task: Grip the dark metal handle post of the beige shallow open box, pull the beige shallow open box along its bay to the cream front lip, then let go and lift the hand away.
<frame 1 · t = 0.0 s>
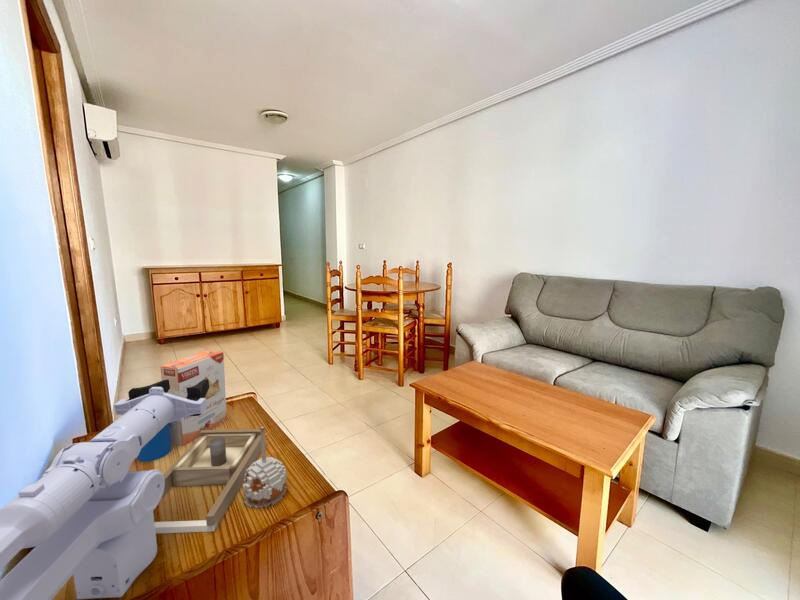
hand: (187, 383, 67), 22 cm above the sideboard, tool horizontal, fingers open, 7 cm apart
beige shallow open box: (218, 452, 74), point 4 cm above the sideboard, slide at 0.0 cm
decorative ornament: (266, 498, 66), on the sideboard
cracker box: (199, 433, 88), on the sideboard
bay: (208, 484, 69), on the sideboard
beverage can: (155, 457, 78), on the sideboard
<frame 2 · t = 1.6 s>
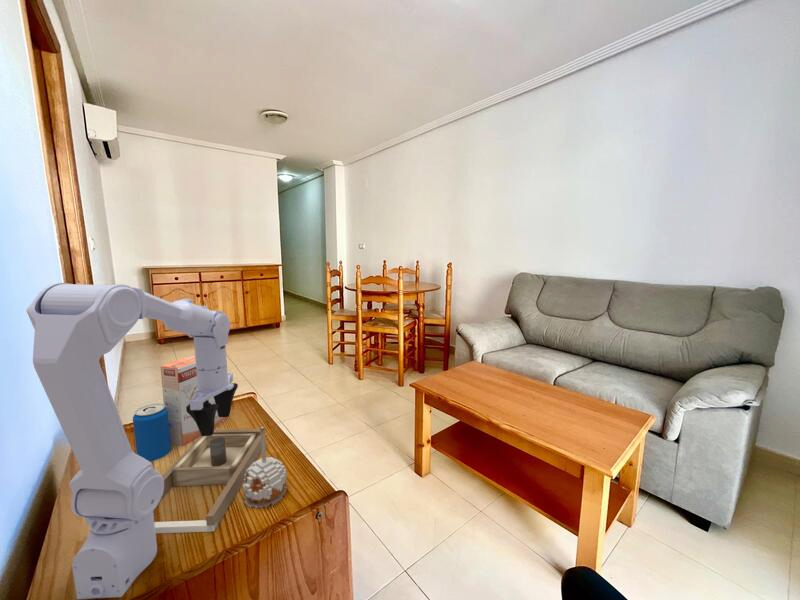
hand: (216, 425, 73), 10 cm above the sideboard, tool pointing down, fingers open, 7 cm apart
nothing on the sideboard moved.
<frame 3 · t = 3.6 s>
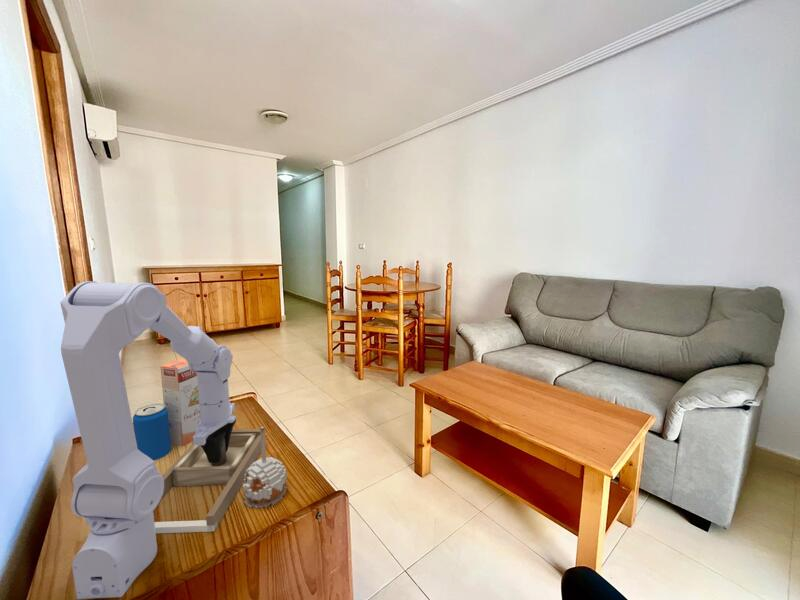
hand: (218, 456, 74), 3 cm above the sideboard, tool pointing down, fingers closed on beige shallow open box, 3 cm apart
beige shallow open box: (218, 452, 74), point 4 cm above the sideboard, slide at 0.0 cm, touching gripper
everything else where it was.
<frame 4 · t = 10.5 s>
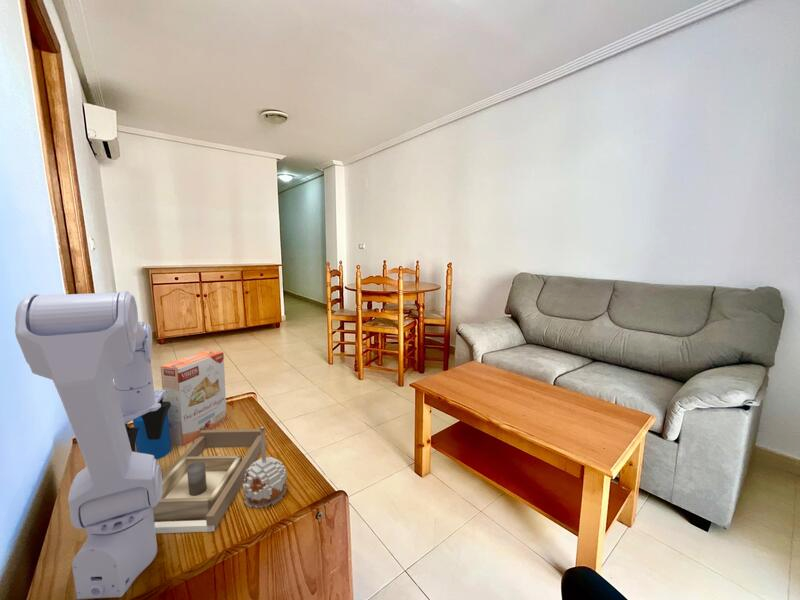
hand: (141, 449, 65), 9 cm above the sideboard, tool pointing down, fingers open, 7 cm apart
beige shallow open box: (197, 479, 65), point 4 cm above the sideboard, slide at 8.7 cm
everything else where it was.
at the end: beige shallow open box slide at 8.7 cm; the gripper is holding nothing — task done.
